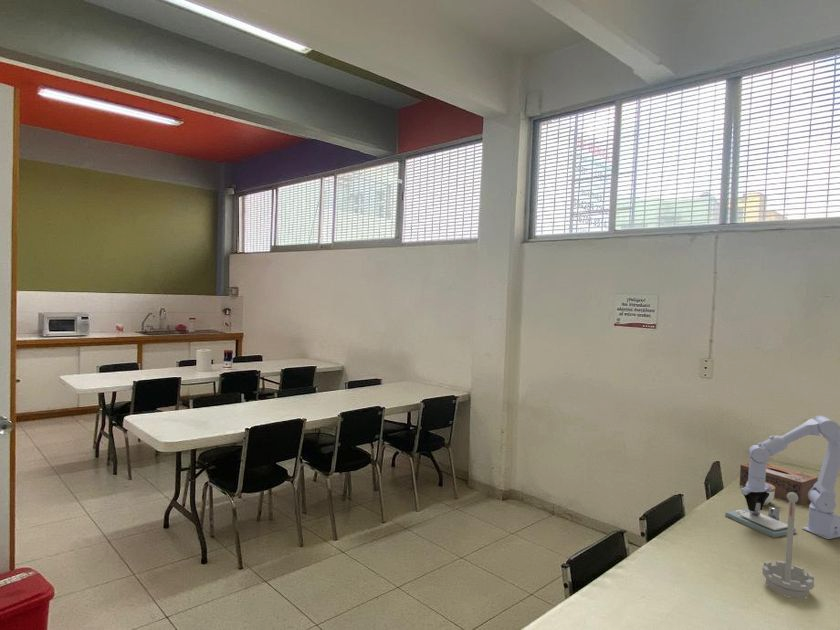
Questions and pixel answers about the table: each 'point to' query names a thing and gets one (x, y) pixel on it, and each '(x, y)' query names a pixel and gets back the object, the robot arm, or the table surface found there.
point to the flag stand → (788, 565)
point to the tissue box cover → (784, 481)
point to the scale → (759, 522)
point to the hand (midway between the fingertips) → (755, 509)
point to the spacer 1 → (756, 509)
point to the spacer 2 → (774, 513)
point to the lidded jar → (771, 493)
